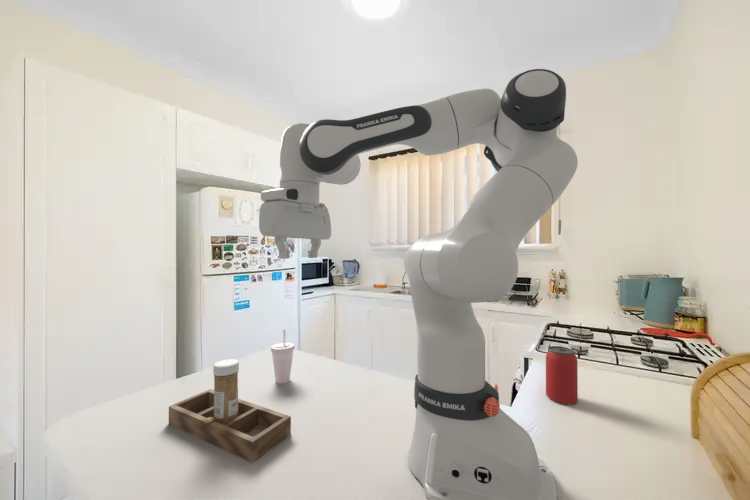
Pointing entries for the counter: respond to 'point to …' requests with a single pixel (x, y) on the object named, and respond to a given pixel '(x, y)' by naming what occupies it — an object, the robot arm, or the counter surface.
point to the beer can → (561, 375)
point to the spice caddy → (231, 425)
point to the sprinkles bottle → (225, 390)
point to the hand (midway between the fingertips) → (299, 258)
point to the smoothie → (282, 360)
